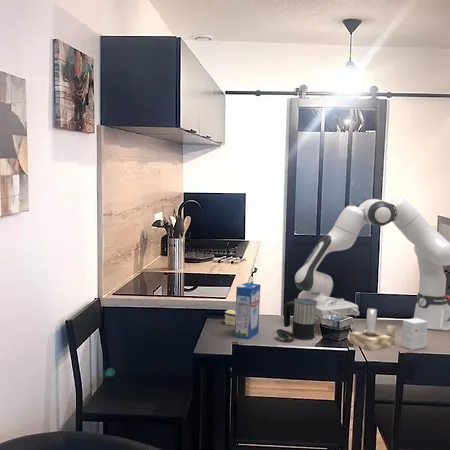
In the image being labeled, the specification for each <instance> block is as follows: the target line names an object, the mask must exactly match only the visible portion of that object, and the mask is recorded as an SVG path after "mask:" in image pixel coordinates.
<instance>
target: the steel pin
mask: <svg viewBox="0 0 450 450" xmlns="http://www.w3.org/2000/svg"><path fill="white" fill-rule="evenodd" d="M377 313H378V309H376V308H370V307H368V308H367V311H366V323H365V330H366V336H368V337H375V331H376V327H377V315H378V314H377ZM376 332H377V331H376Z"/></svg>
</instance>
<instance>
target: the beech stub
mask: <svg viewBox="0 0 450 450" xmlns="http://www.w3.org/2000/svg"><path fill="white" fill-rule="evenodd" d="M385 335H387V336H390V337H391V346H392V345H395V342H396V341H395V340H396V339H395V337H396V325H393V324H387V325H386V334H385Z"/></svg>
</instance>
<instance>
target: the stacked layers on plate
mask: <svg viewBox="0 0 450 450" xmlns="http://www.w3.org/2000/svg"><path fill="white" fill-rule="evenodd" d="M224 313H225V314H224V317H225V318H224V322H225V323H224V324H225V325H227V326H233V327H235V314H236V309H235V310H234V309H227V310H225V311H224Z"/></svg>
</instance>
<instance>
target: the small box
mask: <svg viewBox="0 0 450 450" xmlns="http://www.w3.org/2000/svg"><path fill="white" fill-rule="evenodd" d="M413 318H414V317H413ZM401 328H402V330H401V331H402V332H401V343H400V345H401V347H403V348H406V349H408V350H410V351H414V350H417V349H425V348H427V342H428V341H427V340H428V321H425V320H422V319H419V318H414V319H412V318H409V319H408V318H407V319H403V320H402V327H401Z"/></svg>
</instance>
